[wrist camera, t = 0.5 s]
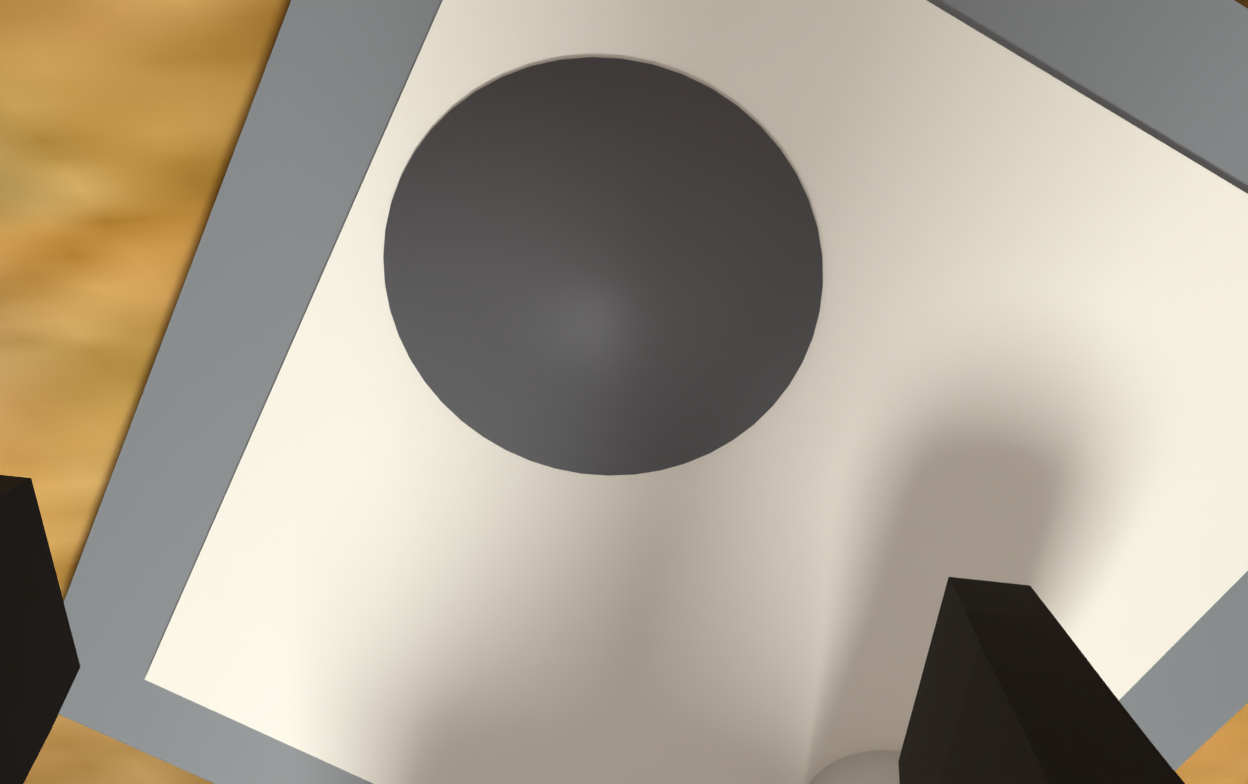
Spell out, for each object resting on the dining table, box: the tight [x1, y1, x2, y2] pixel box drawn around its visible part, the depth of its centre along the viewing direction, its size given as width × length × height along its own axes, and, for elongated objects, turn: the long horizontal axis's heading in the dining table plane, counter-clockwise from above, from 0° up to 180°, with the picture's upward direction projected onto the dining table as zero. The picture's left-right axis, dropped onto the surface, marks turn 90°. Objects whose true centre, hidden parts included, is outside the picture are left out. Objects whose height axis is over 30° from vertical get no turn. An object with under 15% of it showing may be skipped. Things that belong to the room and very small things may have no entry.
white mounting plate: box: [59, 0, 1248, 784], centre depth 20 cm, size 22×20×1 cm
